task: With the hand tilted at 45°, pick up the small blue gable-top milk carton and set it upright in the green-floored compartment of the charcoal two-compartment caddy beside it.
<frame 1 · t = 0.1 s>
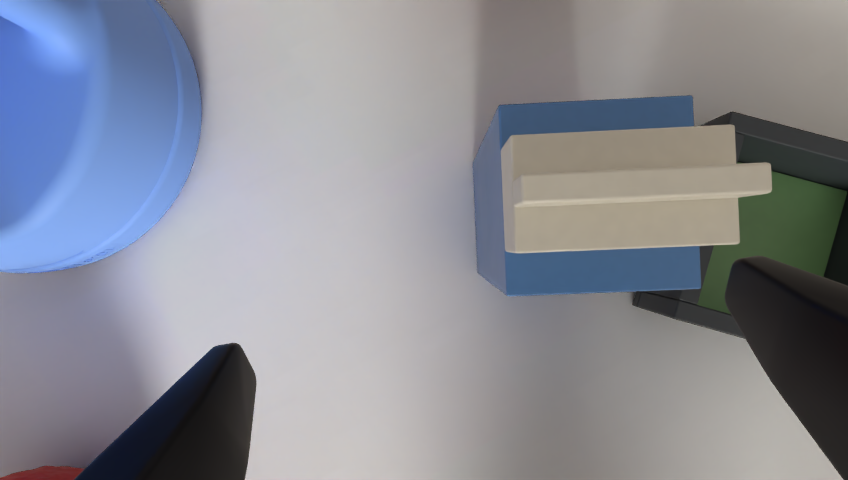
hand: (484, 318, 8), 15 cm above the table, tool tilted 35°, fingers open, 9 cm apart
caddy: (822, 265, 23), on the table
carton: (531, 215, 23), on the table
water jug: (63, 118, 24), on the table
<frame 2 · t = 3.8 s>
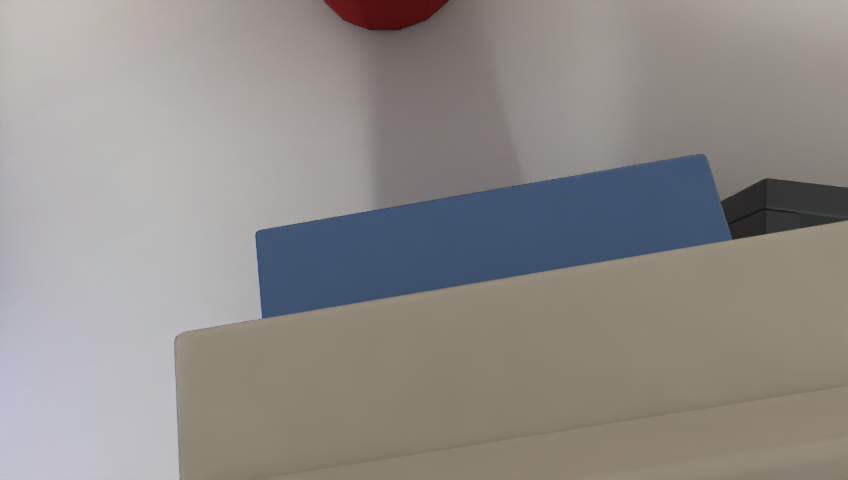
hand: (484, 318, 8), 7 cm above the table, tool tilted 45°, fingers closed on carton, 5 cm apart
carton: (478, 372, 15), on the table, touching gripper
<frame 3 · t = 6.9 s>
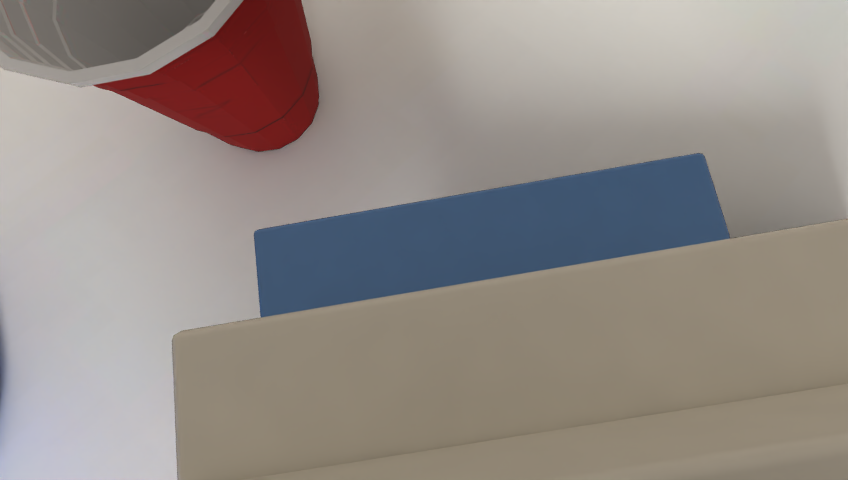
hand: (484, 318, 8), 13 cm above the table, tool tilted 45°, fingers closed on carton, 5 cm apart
carton: (477, 372, 15), point 7 cm above the table, touching gripper
plastic cup: (264, 106, 25), on the table
when the fingers open (7 cm above the table, at t = 10.0 s): carton stays where it is, resting on caddy.
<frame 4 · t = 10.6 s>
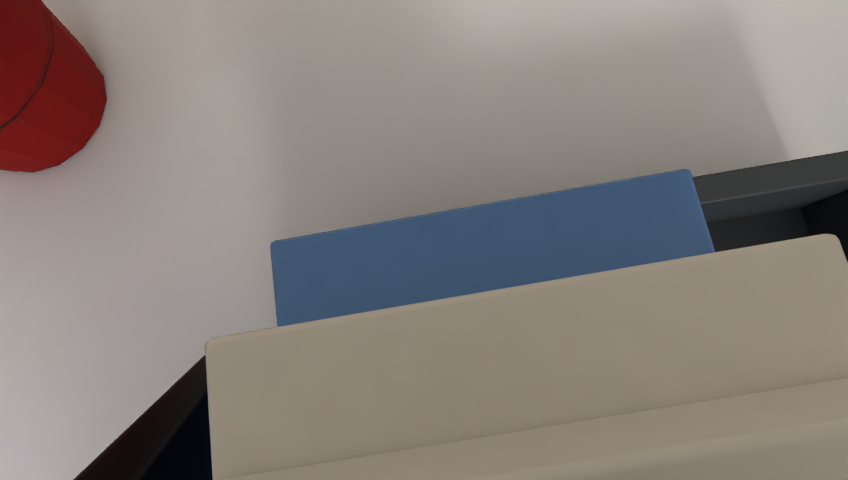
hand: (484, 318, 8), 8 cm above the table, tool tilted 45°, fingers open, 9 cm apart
caddy: (595, 352, 16), on the table
carton: (478, 373, 15), point 1 cm above the table, touching caddy
plastic cup: (41, 114, 19), on the table
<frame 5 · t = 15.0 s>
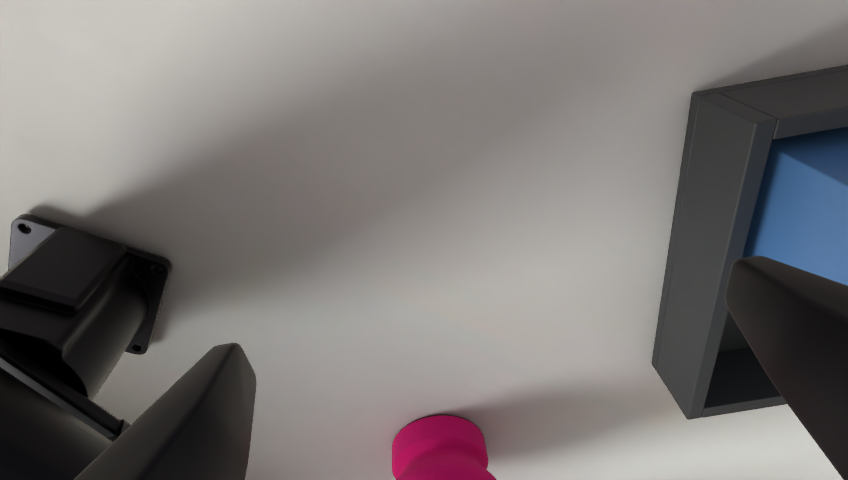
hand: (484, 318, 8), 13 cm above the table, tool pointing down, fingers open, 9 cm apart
caddy: (752, 238, 24), on the table
pepper mill: (437, 441, 32), on the table
carton: (782, 174, 21), point 1 cm above the table, touching caddy
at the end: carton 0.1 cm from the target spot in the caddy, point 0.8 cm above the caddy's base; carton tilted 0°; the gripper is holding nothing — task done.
